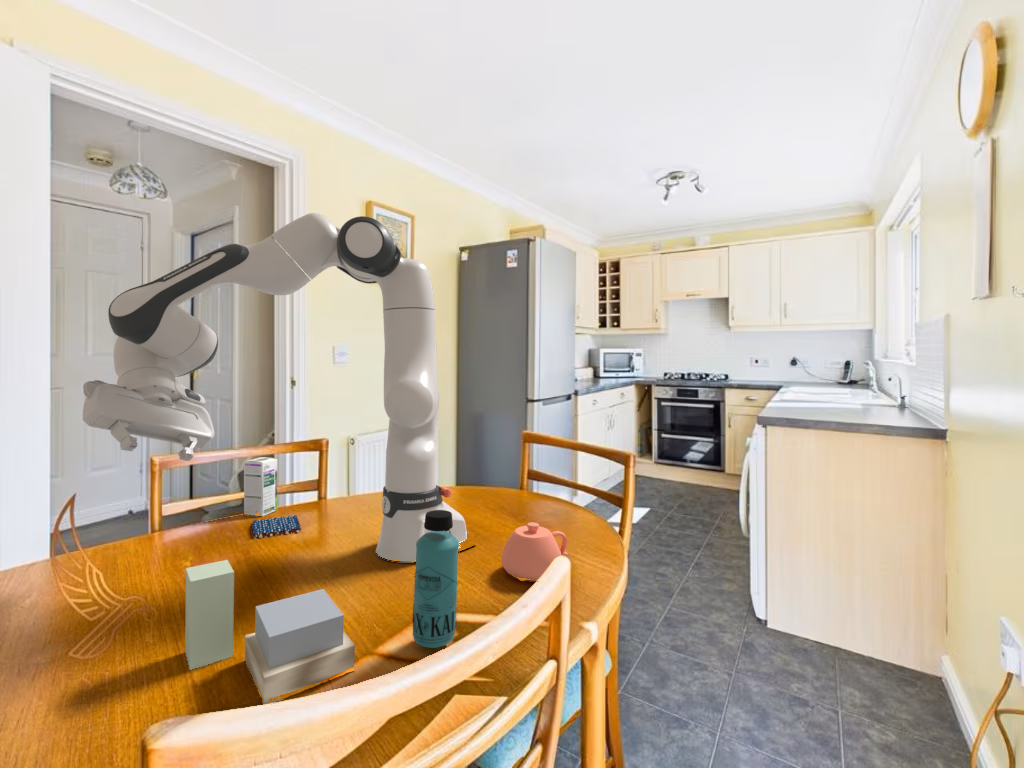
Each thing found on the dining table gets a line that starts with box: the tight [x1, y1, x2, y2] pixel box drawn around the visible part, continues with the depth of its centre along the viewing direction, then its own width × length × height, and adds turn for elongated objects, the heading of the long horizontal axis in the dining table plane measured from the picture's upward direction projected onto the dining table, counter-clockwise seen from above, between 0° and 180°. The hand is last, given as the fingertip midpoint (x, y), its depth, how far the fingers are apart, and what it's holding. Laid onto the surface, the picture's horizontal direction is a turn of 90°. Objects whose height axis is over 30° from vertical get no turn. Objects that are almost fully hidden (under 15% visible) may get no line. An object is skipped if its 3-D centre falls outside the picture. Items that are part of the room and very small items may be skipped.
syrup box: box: [243, 456, 278, 517], centre depth 126 cm, size 6×6×14 cm
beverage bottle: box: [411, 510, 459, 649], centre depth 69 cm, size 6×7×20 cm
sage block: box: [184, 559, 235, 671], centre depth 66 cm, size 5×5×12 cm
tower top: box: [254, 588, 345, 669], centre depth 64 cm, size 9×9×4 cm
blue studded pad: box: [249, 514, 302, 540], centre depth 114 cm, size 10×11×2 cm
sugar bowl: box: [500, 522, 570, 582], centre depth 95 cm, size 12×14×10 cm
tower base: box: [244, 630, 356, 705], centre depth 64 cm, size 11×11×4 cm
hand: (159, 453), depth 81 cm, fingers open, 8 cm apart
